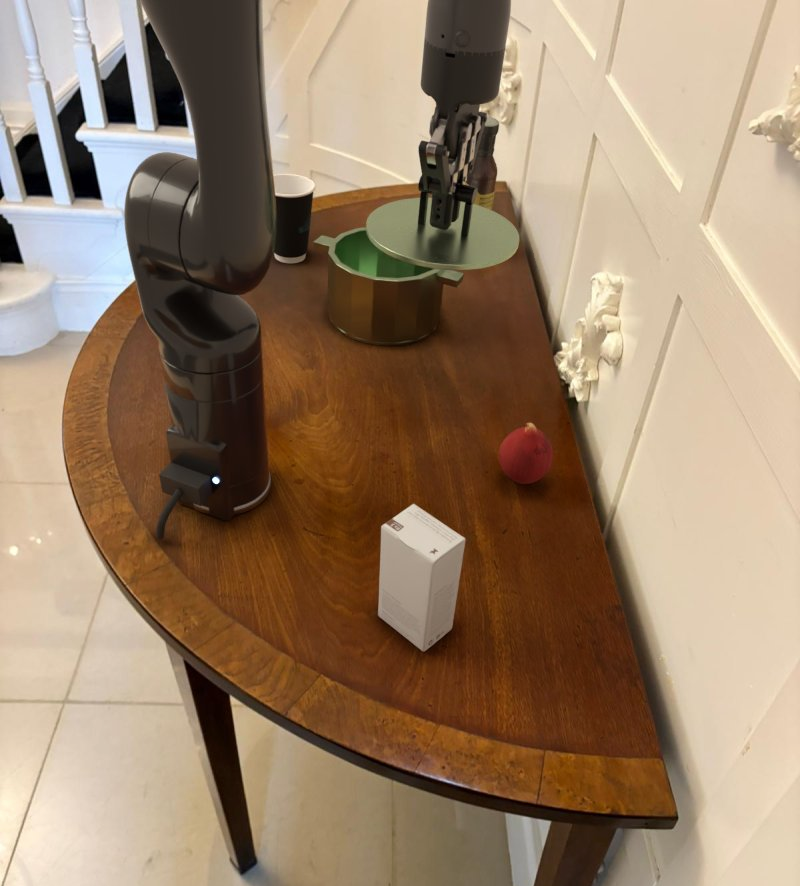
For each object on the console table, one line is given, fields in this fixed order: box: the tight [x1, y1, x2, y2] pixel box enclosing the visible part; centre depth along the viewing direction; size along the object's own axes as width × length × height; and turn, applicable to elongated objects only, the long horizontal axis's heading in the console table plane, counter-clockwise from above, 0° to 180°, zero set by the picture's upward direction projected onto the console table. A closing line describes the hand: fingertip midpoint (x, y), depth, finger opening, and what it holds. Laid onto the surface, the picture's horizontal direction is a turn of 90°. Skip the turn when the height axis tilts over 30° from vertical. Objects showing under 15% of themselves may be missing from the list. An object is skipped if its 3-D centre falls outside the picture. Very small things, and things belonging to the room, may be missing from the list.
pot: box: [313, 226, 465, 347], centre depth 108 cm, size 16×21×10 cm
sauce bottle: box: [464, 115, 500, 210], centre depth 121 cm, size 7×6×20 cm
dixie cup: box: [273, 173, 317, 264], centre depth 118 cm, size 8×8×11 cm
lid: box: [365, 175, 520, 271], centre depth 83 cm, size 17×17×6 cm
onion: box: [498, 422, 554, 485], centre depth 85 cm, size 6×6×8 cm
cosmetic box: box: [377, 503, 466, 652], centre depth 68 cm, size 6×4×12 cm
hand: (443, 222), depth 84 cm, fingers closed on lid
